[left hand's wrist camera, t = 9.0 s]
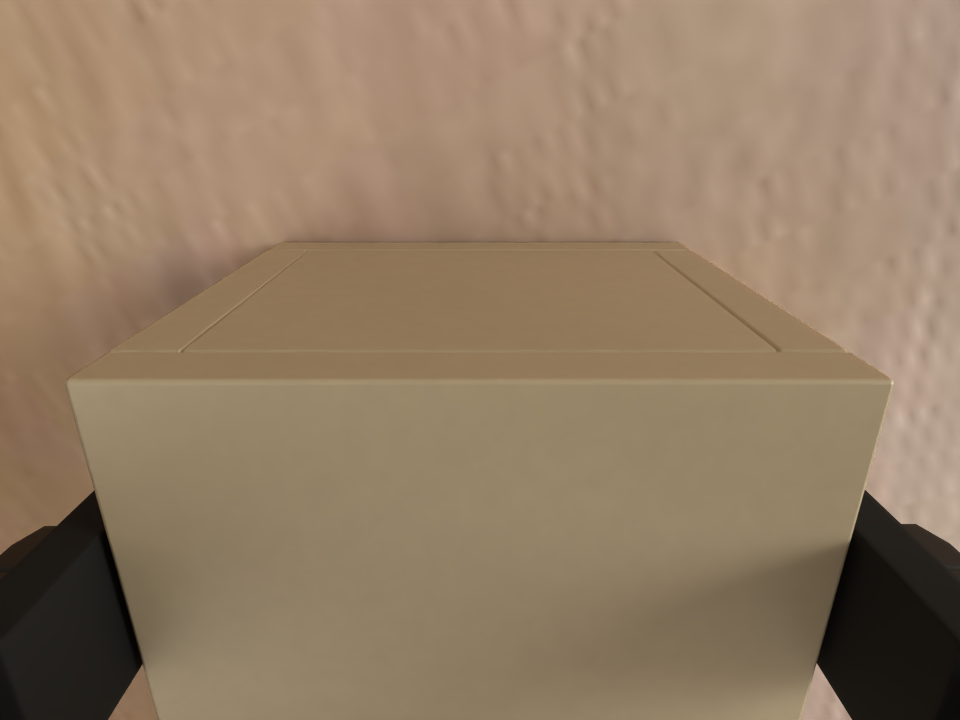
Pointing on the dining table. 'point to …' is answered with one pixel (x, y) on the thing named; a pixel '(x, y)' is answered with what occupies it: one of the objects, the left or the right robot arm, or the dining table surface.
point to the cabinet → (479, 486)
